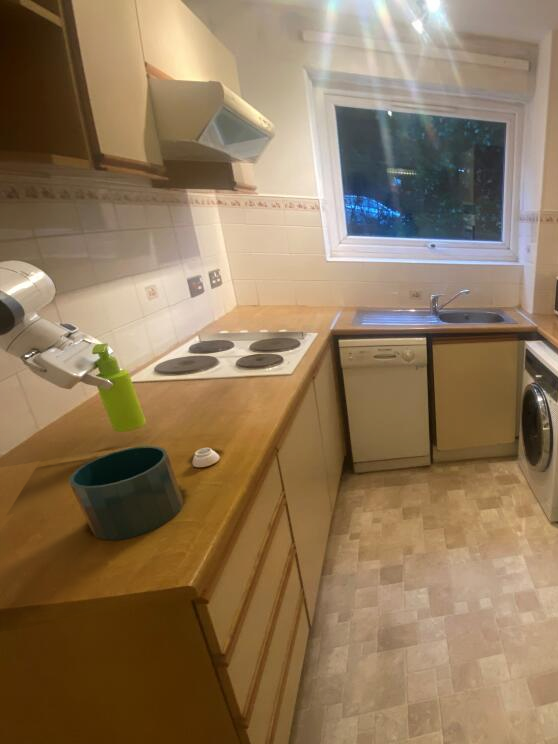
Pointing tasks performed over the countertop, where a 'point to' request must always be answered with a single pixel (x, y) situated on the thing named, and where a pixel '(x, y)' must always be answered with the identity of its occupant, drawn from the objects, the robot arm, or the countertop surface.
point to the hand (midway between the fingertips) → (117, 380)
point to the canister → (127, 492)
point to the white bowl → (205, 457)
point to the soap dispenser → (118, 393)
